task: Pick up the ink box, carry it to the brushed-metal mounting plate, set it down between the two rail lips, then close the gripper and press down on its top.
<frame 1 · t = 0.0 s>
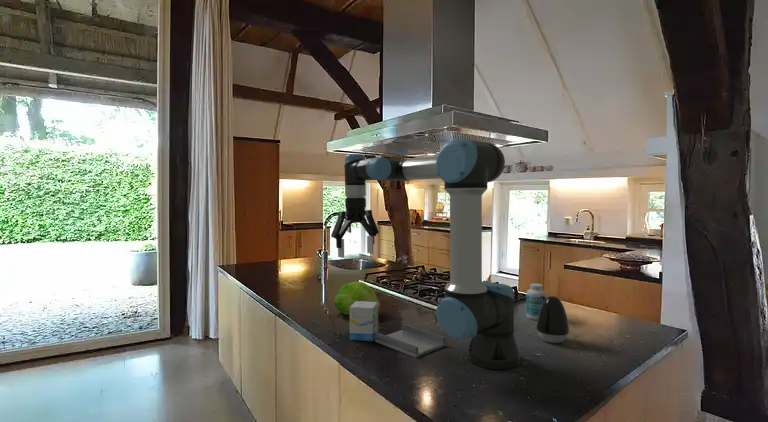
hand: (356, 255, 149), 28 cm above the worktop, fingers open, 13 cm apart
supplement tub: (458, 322, 160), on the worktop
pill bottle: (536, 318, 164), on the worktop
black rounded dome: (552, 341, 138), on the worktop
rail board: (409, 343, 137), on the worktop
ink box: (364, 337, 144), on the worktop
lettuce: (356, 315, 171), on the worktop
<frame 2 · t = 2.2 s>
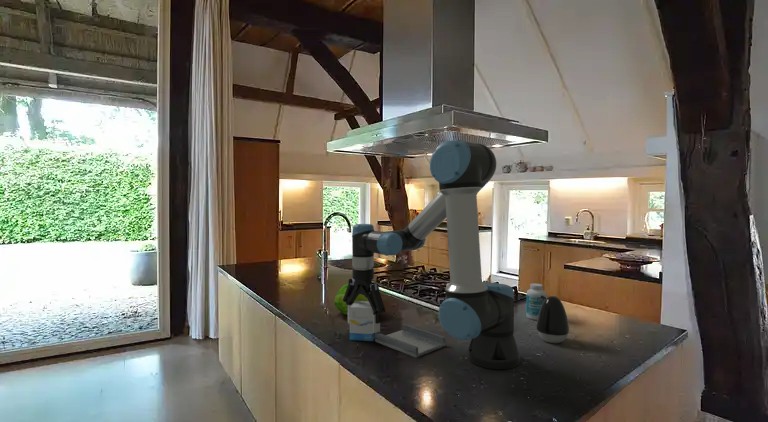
hand: (363, 327, 144), 3 cm above the worktop, fingers open, 13 cm apart
nothing on the worktop moved.
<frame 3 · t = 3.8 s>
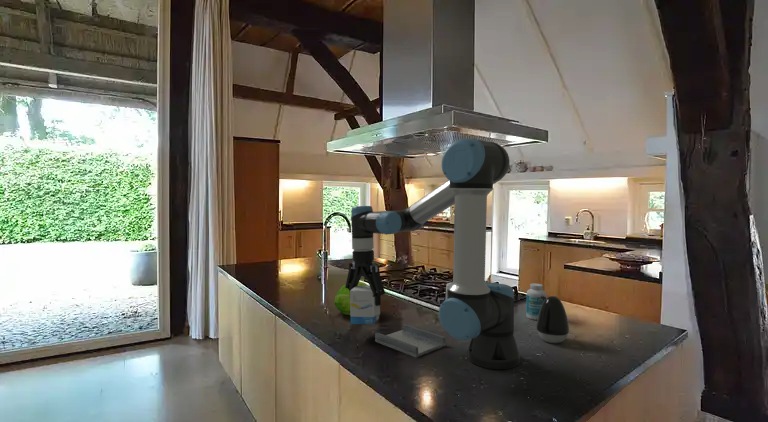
hand: (365, 311, 143), 9 cm above the worktop, fingers closed on ink box, 11 cm apart
ink box: (365, 321, 143), point 6 cm above the worktop, touching gripper
everything else where it was.
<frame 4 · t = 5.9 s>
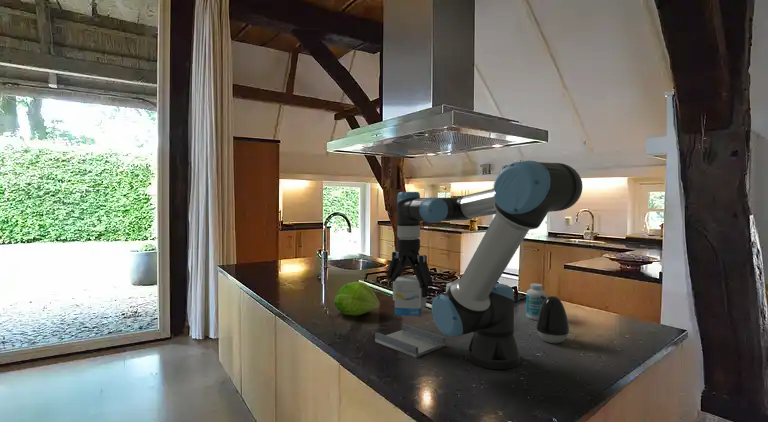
hand: (409, 303, 136), 14 cm above the worktop, fingers closed on ink box, 11 cm apart
ink box: (409, 312, 136), point 10 cm above the worktop, touching gripper
everything else where it was.
when the fingers open (4 cm above the worktop, at t = 8.1 s): ink box stays where it is, resting on rail board.
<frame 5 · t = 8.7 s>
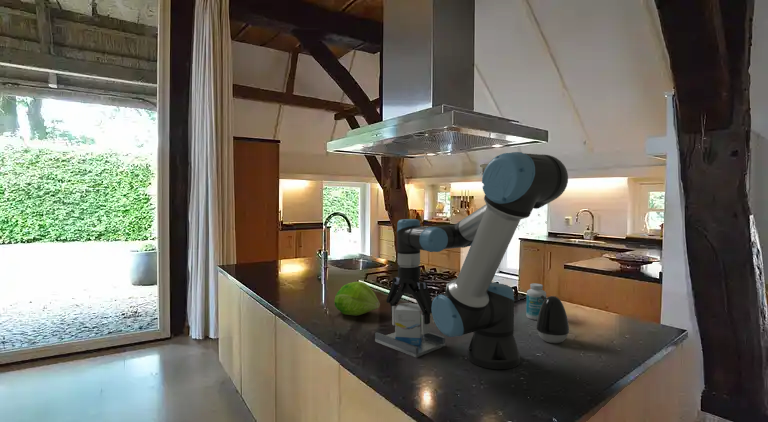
hand: (409, 328, 136), 5 cm above the worktop, fingers open, 13 cm apart
ink box: (409, 341, 137), point 1 cm above the worktop, touching rail board
everything else where it was.
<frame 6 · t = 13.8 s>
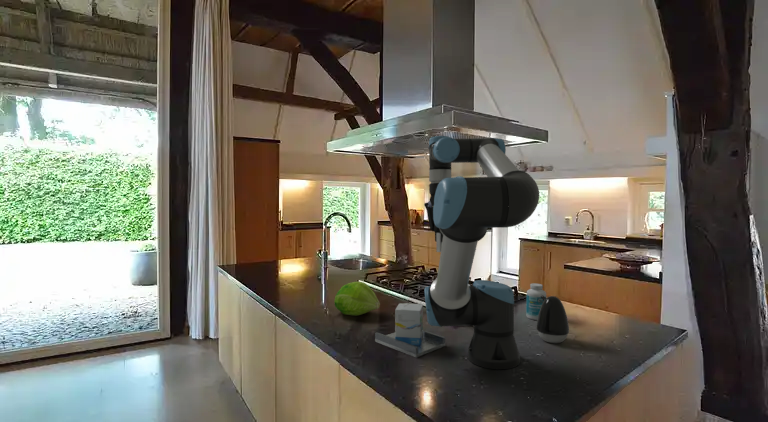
hand: (440, 251, 140), 30 cm above the worktop, fingers closed
nothing on the worktop moved.
at the end: ink box inside the target area on the rail board (0.0 cm from its centre), point 0.8 cm above the rail board's base; ink box tilted 0°; the gripper is holding nothing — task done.
